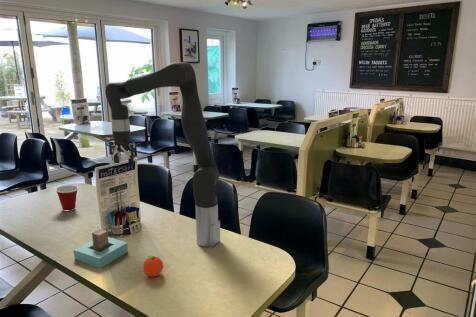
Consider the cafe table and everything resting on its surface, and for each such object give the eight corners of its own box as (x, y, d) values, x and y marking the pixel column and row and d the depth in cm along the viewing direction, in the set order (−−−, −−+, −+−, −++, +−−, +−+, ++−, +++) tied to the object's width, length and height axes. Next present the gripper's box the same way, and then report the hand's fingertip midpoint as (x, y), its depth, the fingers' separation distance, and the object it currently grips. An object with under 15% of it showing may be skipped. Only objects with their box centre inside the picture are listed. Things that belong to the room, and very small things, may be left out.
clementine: (139, 272, 128) (138, 254, 126) (157, 266, 132) (156, 249, 130) (148, 282, 122) (147, 264, 120) (166, 276, 126) (166, 258, 124)
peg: (109, 254, 141) (107, 231, 138) (101, 258, 137) (99, 235, 135) (102, 251, 142) (100, 229, 140) (94, 256, 139) (91, 233, 137)
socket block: (127, 251, 143) (127, 242, 142) (100, 268, 131) (99, 258, 130) (103, 243, 149) (102, 235, 148) (74, 259, 137) (73, 249, 136)
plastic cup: (75, 213, 181) (72, 191, 178) (54, 213, 181) (51, 191, 178) (84, 205, 191) (81, 184, 188) (64, 205, 191) (61, 184, 188)
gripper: (102, 129, 153) (106, 165, 157) (126, 131, 147) (129, 169, 151) (115, 126, 160) (118, 161, 164) (139, 129, 153) (142, 165, 157)
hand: (124, 165), depth 157 cm, fingers open, 8 cm apart
